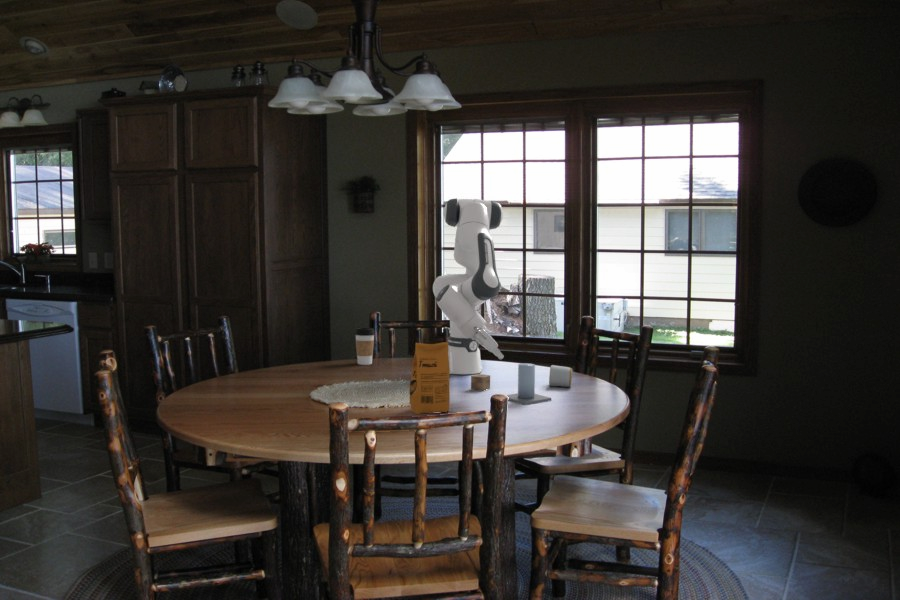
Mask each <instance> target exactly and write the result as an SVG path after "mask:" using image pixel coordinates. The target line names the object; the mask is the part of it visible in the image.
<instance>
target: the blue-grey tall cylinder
mask: <svg viewBox="0 0 900 600" xmlns="http://www.w3.org/2000/svg"><path fill="white" fill-rule="evenodd" d="M517 366H518V367H517V370H518V371H517V372H518V374H517V393H518V397H519V398H534V394H536V393H535V388H536V386H535V383H536V377H535V376H536V365H535V364H534V363H525V362H524V363H518V365H517Z"/></svg>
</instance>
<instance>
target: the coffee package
mask: <svg viewBox="0 0 900 600" xmlns="http://www.w3.org/2000/svg"><path fill="white" fill-rule="evenodd" d="M414 347H415V348H414V349H415V350H414V356H413V360H412V367H411V375H410V383H409V393H408V395H409V404H410V406H411V407H410V408H411V411H412V413H413V414H416V415H421V413H422V414H431V413H433V412H445V413H448V412H447V411H449V412H450V398H451V396H450V395H451V394H450V375H451V374H450V372H449V356H448V349H449V347H448V341H444V342H438V343H434V344H433V343H422V342H415V346H414Z"/></svg>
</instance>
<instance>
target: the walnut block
mask: <svg viewBox="0 0 900 600" xmlns="http://www.w3.org/2000/svg"><path fill="white" fill-rule="evenodd" d="M489 388H490V389H491V375H489V374H484V373H483V374H481V373H476V374H472V375H471V376H470V390H471V389H473V391H478V390H481V391H480V392H485V391H487V390H486V389H488V390H490V389H489ZM484 390H485V391H484Z"/></svg>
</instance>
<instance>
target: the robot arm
mask: <svg viewBox="0 0 900 600" xmlns="http://www.w3.org/2000/svg"><path fill="white" fill-rule="evenodd" d="M503 217H504V212H503V208H502V205H501V204H500V202H496V201H494V200H491V201H490V200H487V199H486V200H484V199H480V198H479V199H477V198H474V199H473V198H471V199H470V198H459V199H458V198H450V199H448V200H447V201H446V204H445V206H444V208H443V218H444V222H445V223H446V224H447V225H448V226H450V227H453V228H456V230H455V239H454V248H453V249H454V250H453V258H454V261H455V262H456V263H457V264H458V265H460V266H461V267H463V268H465V273H449V274H444V275H443V274H442V275H439V276H437V277H436V278H435V280H434V281H433V284H432V292H433V295H434V297H435V299H436V304H437V306H438V308H440V310H441V312H442V313H443V314H444V315H445V316H446V317H447V318H448V319H449V328H450V329H449V331H450V335H449V336H447V337H446V338H445V340H446V341H447V343H448V347H449V349H448V356H449V372H450V375H476V374H481V372H482V370H484V368H483V365H482V361H481V350H480V348H479V346H482V348H485V349H486V350H487V351H488V352H489V353H492V354H493V355H494V356H495V357H497V358H498V360H502V359H504V357H505V355H504V354H503V352H501V350H500V348H498V347H499V344H498V343H497V341H496V340H495V339H494V338H493V337H492V336H491V334H490V333H488V332H487V331H486V330H487V326H486V325H485V324H486V323H487V321H486V320H485V318H484V317H483V316H482V315H481V314H480V312H478V310H477V309H476V308H478V307H479V306H481V305H483V304H484V303H486V302H487V301H489V300H491V299H492V298H494V297H495V298H496V296H498V294H499V292H500V289H501V282H500V278H499V276H498V272H497V265H496V255H495V253H496V252H495V245H494V240H493V238H492V236H491V235H490V230H495V229H497V228H499V227H500V225H501V223H502V221H503Z"/></svg>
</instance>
